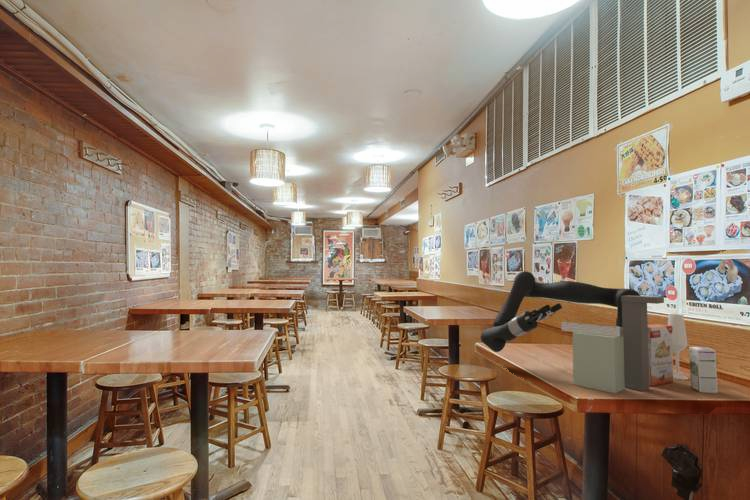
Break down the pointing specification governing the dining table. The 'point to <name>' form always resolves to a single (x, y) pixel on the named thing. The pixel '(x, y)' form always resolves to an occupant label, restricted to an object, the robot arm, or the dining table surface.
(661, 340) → the cracker box
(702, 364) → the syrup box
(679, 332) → the champagne flute
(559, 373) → the dining table surface
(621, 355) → the block
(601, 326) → the aluminium bar
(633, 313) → the pedestal stand
